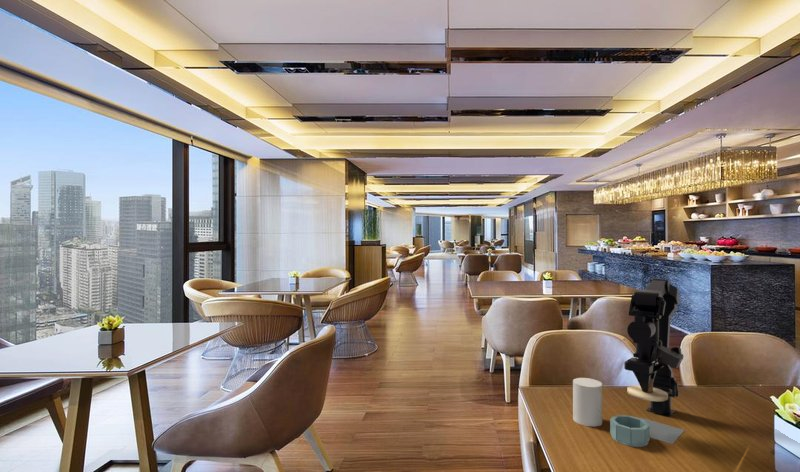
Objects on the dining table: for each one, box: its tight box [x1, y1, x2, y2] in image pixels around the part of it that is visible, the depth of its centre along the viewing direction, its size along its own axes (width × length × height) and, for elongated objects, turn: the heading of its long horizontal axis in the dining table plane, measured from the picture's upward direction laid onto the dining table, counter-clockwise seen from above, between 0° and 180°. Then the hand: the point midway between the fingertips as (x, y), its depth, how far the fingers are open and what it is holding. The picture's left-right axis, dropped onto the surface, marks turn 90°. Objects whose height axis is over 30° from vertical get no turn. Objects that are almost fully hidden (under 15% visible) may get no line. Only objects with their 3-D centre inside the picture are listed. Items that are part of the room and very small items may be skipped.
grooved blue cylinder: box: [609, 414, 651, 448], centre depth 119 cm, size 9×9×5 cm
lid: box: [626, 378, 668, 402], centre depth 122 cm, size 10×10×4 cm
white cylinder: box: [572, 377, 603, 427], centre depth 130 cm, size 8×8×12 cm
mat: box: [638, 417, 686, 445], centre depth 124 cm, size 12×12×1 cm
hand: (647, 390), depth 122 cm, fingers closed on lid, 3 cm apart
